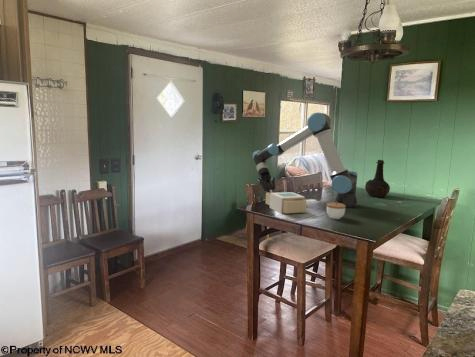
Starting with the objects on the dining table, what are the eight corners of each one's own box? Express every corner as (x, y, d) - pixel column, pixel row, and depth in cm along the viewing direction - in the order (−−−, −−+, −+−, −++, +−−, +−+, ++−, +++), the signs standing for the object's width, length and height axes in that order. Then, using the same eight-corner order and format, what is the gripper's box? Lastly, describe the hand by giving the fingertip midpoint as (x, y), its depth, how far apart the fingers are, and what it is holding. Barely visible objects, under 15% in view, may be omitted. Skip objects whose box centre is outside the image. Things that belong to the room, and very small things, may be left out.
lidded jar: (345, 220, 204) (346, 204, 203) (325, 219, 207) (327, 203, 205) (343, 216, 215) (345, 200, 213) (325, 214, 217) (326, 199, 215)
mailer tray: (265, 203, 235) (266, 192, 234) (283, 202, 240) (284, 191, 239) (286, 213, 211) (286, 201, 210) (305, 212, 217) (306, 200, 216)
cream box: (269, 207, 227) (270, 193, 226) (291, 206, 234) (292, 191, 232) (280, 213, 215) (281, 197, 213) (303, 211, 221) (304, 196, 220)
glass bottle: (368, 192, 292) (371, 158, 287) (391, 196, 281) (395, 160, 277) (361, 195, 277) (364, 159, 273) (385, 199, 267) (389, 161, 262)
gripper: (269, 173, 257) (279, 201, 245) (252, 173, 252) (262, 202, 240) (273, 167, 251) (284, 195, 239) (256, 167, 246) (266, 196, 234)
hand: (273, 199), depth 239 cm, fingers closed
